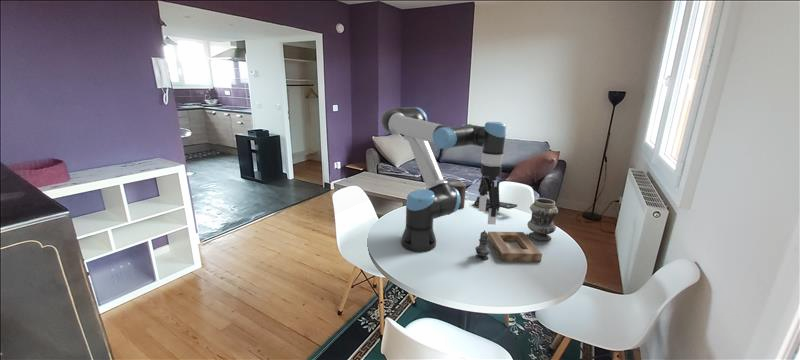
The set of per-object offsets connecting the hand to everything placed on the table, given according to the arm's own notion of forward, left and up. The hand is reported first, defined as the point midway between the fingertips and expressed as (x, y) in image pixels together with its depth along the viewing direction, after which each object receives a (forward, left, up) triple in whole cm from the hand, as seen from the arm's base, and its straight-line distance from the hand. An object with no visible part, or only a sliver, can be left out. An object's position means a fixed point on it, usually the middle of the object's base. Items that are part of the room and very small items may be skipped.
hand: (486, 217), depth 129 cm
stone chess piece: (0, 0, -18) cm, 18 cm away
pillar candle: (0, +58, -18) cm, 61 cm away
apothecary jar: (+32, +19, -18) cm, 41 cm away
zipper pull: (+20, +53, -18) cm, 59 cm away
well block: (+15, +7, -18) cm, 24 cm away
